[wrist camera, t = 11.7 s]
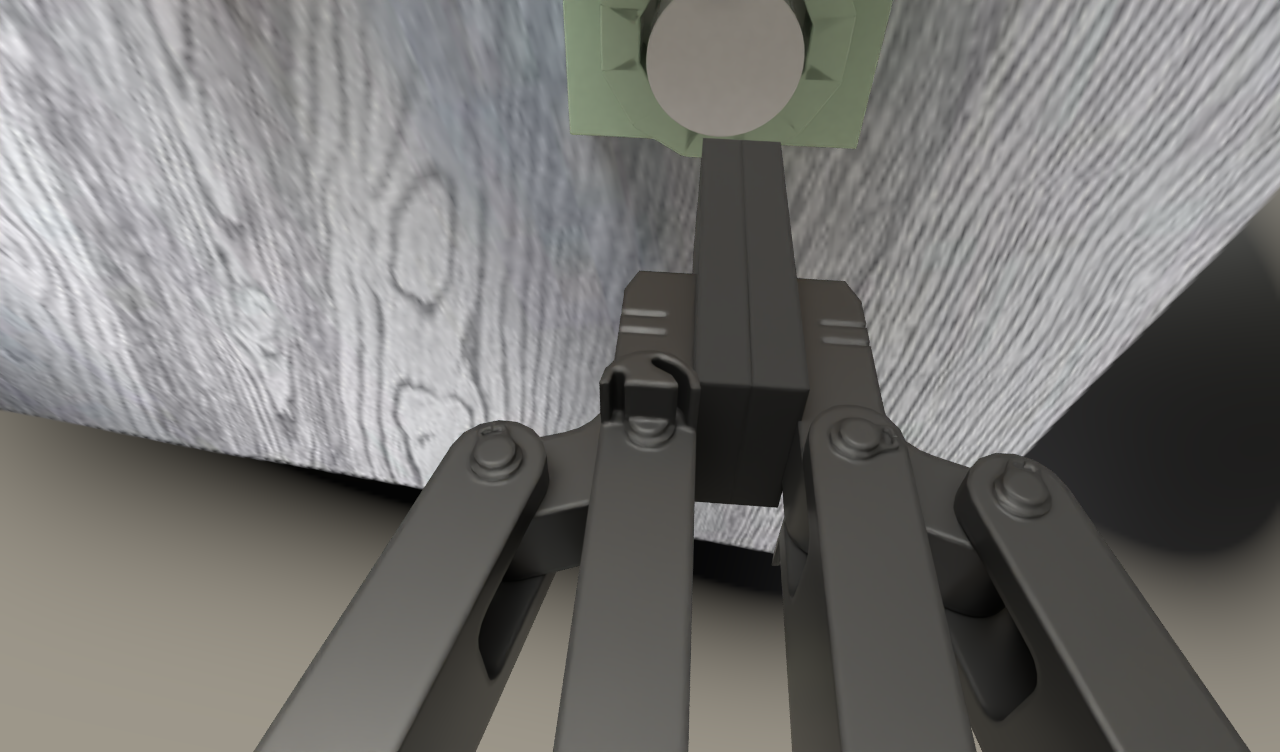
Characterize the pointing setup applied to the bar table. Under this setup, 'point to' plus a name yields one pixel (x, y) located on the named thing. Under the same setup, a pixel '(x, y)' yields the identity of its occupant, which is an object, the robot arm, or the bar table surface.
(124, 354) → the bar table surface
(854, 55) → the green push button box
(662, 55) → the flush button
